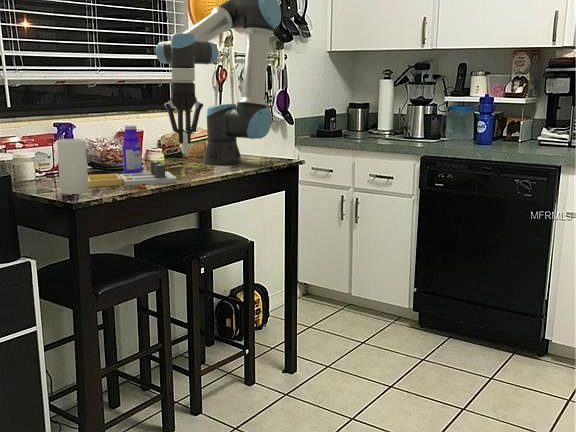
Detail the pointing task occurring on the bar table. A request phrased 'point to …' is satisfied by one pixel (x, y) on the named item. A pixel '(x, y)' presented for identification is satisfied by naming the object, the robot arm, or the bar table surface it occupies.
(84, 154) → the light grey upright block
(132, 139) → the bottle
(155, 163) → the block
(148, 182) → the breaker board
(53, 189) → the bar table surface
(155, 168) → the breaker
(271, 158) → the bar table surface
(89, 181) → the yellow square tray
